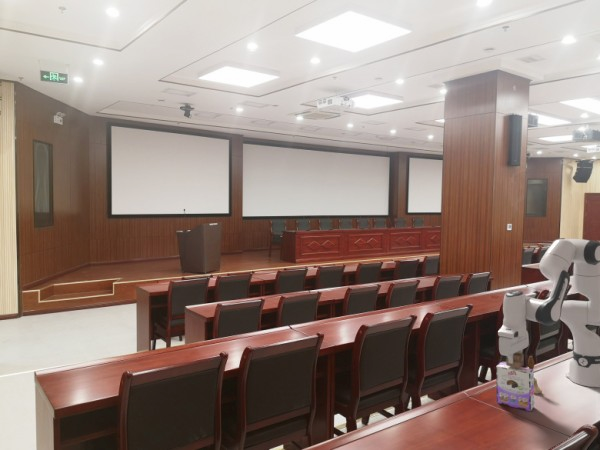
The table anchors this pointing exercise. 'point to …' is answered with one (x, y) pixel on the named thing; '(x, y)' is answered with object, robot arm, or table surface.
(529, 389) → the candy box
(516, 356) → the walnut cube
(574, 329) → the robot arm
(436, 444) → the table surface
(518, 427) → the table surface
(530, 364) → the hand bell
